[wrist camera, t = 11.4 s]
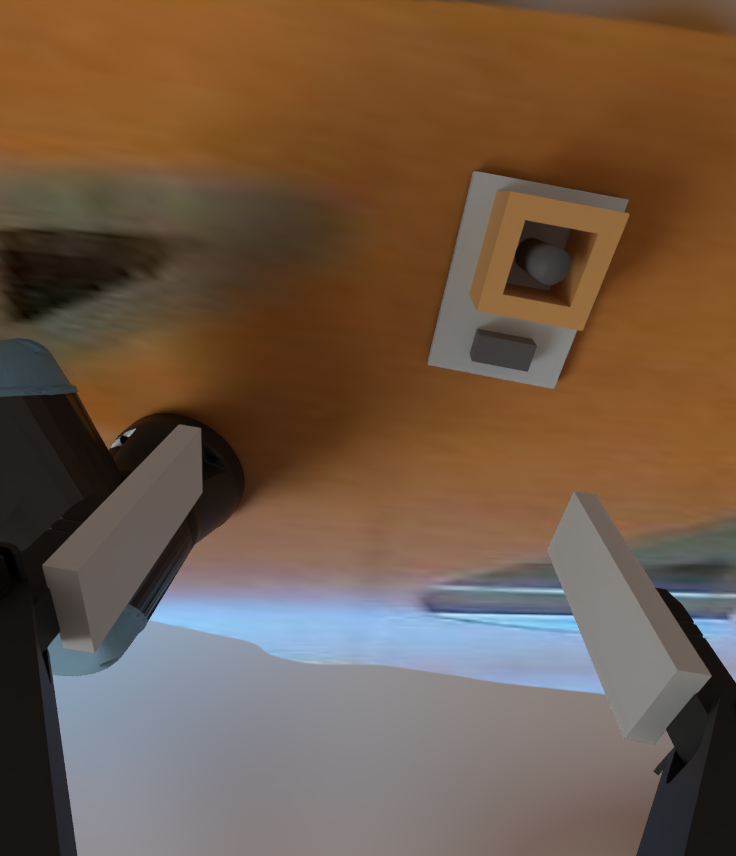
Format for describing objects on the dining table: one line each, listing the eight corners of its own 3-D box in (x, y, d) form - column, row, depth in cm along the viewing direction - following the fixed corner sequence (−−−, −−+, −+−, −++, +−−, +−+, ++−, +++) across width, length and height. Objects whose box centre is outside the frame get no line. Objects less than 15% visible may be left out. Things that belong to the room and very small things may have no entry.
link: (468, 294, 39) (476, 311, 33) (496, 190, 35) (510, 191, 30) (560, 311, 39) (582, 331, 33) (598, 210, 35) (630, 213, 29)
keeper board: (427, 360, 43) (429, 394, 36) (473, 171, 35) (486, 166, 28) (550, 384, 43) (576, 423, 36) (622, 199, 35) (675, 201, 28)
